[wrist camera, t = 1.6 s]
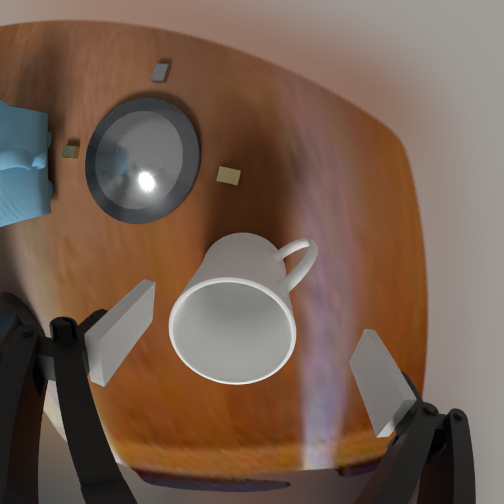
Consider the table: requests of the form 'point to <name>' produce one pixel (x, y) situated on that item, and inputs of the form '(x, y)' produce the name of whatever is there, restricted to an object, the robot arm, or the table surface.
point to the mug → (239, 309)
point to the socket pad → (144, 158)
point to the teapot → (23, 164)
